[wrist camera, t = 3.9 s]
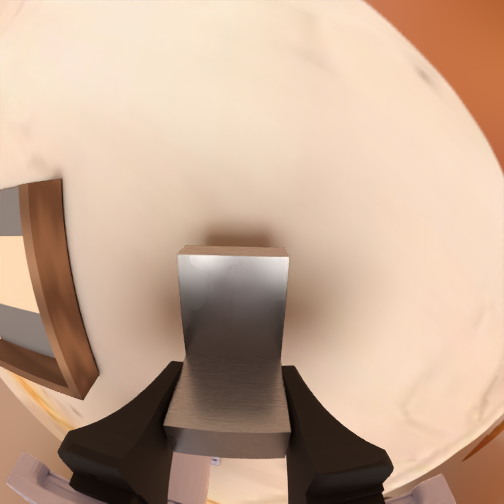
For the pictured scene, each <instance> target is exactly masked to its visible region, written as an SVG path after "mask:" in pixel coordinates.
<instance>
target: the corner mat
mask: <svg viewBox="0 0 504 504" xmlns="http://www.w3.org/2000/svg"><path fill="white" fill-rule="evenodd" d="M0 337H1V339H3V340H6V341H8V342H10V343H13V344H15V345H18V346H21V347H23V348H26V349H29V350H31V351H34V352H37V353H40V354H43V355H46V356H49V357H52V358H55V356H54V353H53V350H52V348H51V345H50V343H49V340H48V337H47V334H46V331H45V328H44V325H43V322H42V319H41V316H40V313H39V309H38V306H37V303H36V299H35V295H34V291H33V287H32V283H31V279H30V274H29V270H28V265H27V259H26V254H25V248H24V242H23V235H22V227H21V217H20V206H19V189H18V187H14V188H9V189H5V190H0ZM89 349H90V348H89Z"/></svg>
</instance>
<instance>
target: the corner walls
mask: <svg viewBox="0 0 504 504" xmlns="http://www.w3.org/2000/svg"><path fill="white" fill-rule="evenodd" d="M18 189H19V206H20V217H21V227H22V235H23V242H24V248H25V254H26V259H27V265H28V270H29V274H30V279H31V283H32V287H33V291H34V295H35V299H36V303H37V306H38V309H39V313H40V316H41V319H42V322H43V325H44V328H45V331H46V334H47V337H48V340H49V343H50V345H51V348H52V350H53V353H54V356H55V358H52V357H49V356H46V355H43V354H40V353H37V352H34V351H31V350H29V349H26V348H23V347H21V346H18V345H15V344H13V343H10V342H8V341H6V340H3V339H0V366H1V367H3V368H5V369H7V370H9V371H11V372H13V373H15V374H17V375H19V376H21V377H24V378H26V379H28V380H30V381H32V382H35V383H37V384H40V385H42V386H44V387H47V388H49V389H52V390H55V391H57V392H60V393H63V394H65V395H68V396H71V397H74V398H77V399H80V400H84V398H85V397H86V395H87V393H88V392H89V390H90V389H91V387H92V385H93V384H94V382H95V381H96V379H97V378H98V376H99V373H98V370H97V367H96V365H95V362H94V359H93V356H92V353H91V350H90V349H89V348H90V347H89V344H88V341H87V338H86V334H85V331H84V327H83V324H82V320H81V317H80V313H79V309H78V305H77V301H76V296H75V292H74V287H73V282H72V277H71V272H70V266H69V261H68V254H67V247H66V240H65V232H64V222H63V211H62V195H61V179H56V180H48V181H41V182H34V183H27V184H22V185H18Z"/></svg>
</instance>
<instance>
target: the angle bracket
mask: <svg viewBox="0 0 504 504" xmlns="http://www.w3.org/2000/svg"><path fill="white" fill-rule="evenodd" d="M177 262H178V278H179V291H180V303H181V314H182V324H183V334H184V342H185V351H186V356H185V359H184V362H183V363H184V364H183V367H182V370H181V373H180V376H179V378H178V380H177V383H176V386H175V389H174V392H173V395H172V399H171V402H170V405H169V408H168V411H167V414H166V417H165V420H164V424H163V426H164V429H165V432H166V435H167V438H168V441H169V444H170V446H171V449H172V452H177V453H183V454H191V455H199V456H209V457H222V458H244V459H271V458H285V455H286V451H287V447H288V443H289V439H290V434H291V428H290V421H289V414H288V407H287V400H286V393H285V386H284V381H283V376H282V369H281V367H282V365H281V349H282V339H283V328H284V317H285V306H286V294H287V281H288V267H289V256H288V254H287V251H286V249H285V248H277V247H237V246H192V245H185V246H184V248H183V249H182V250H181V251H180V252H179V253H178V254H177Z"/></svg>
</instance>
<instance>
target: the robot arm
mask: <svg viewBox="0 0 504 504" xmlns="http://www.w3.org/2000/svg"><path fill="white" fill-rule="evenodd" d="M183 364H184V363H183V362H178V361H171V362H170V363H169V364H168V366H167V367H166V368H165V369H164V370H163V371H162V372H161V373H160V374H159V375H158V377H157V378H156V379H155V380H154V381H153V382H152V383H151V384H150V385H149V386H148V387H147V388H146V389H145V390H143V391H142V392H141V393H140V394H139V395H138V396H137V397H135V398H134V399H133V400H132V401H130V402H129V403H128V404H126V405H125V406H124V407H122V408H121V409H119V410H118V411H116V412H114V413H112V414H111V415H109V416H107V417H105V418H103V419H101V420H99V421H97V422H95V423H92V424H90V425H87V426H84V427H81V428H78V429H75V430H72V431H69V432H68V434H67V435H66V437H65V438H64V440H63V442H62V444H61V446H60V448H59V450H58V454H59V457H60V458H61V459H62V461H63V462H64V463H65V464H66V465H67V466H68V467H69V468H70V469H71V471H72V472H73V476H72V478H71V480H69V479H67V478H64V477H62V476H60V475H58V474H56V473H54V472H52V471H51V470H49V468H48V467H47V466H46V465H45V464H44V463H43V462H42V461H40V460H39V459H37V458H35V457H34V456H32V455H30V454H29V453H27V452H25V451H23V452H22V454H21V456H20V457H19V459H18V461H17V462H16V464H15V466H14V468H13V469H12V471H11V473H10V475H9V477H8V478H7V480H6V484H7V485H8V486H10V487H11V488H12V489H13V490H14V491H15V492H17V493H18V494H19V495H20V496H22V497H23V498H24V499H26V500H27V501H28V502H30V503H31V504H206V501H207V492H208V484H209V475H210V467H211V465H215V466H218V465H220V457H209V456H199V455H191V454H183V453H177V452H172V449H171V446H170V444H169V441H168V438H167V435H166V432H165V429H164V426H163V424H164V420H165V417H166V414H167V411H168V408H169V405H170V402H171V399H172V395H173V392H174V389H175V386H176V383H177V380H178V378H179V376H180V373H181V370H182V367H183ZM281 369H282V376H283V381H284V386H285V393H286V400H287V407H288V414H289V421H290V428H291V434H290V439H289V443H288V447H287V451H286V460H287V476H288V504H456V502H455V500H454V497H453V495H452V493H451V491H450V489H449V487H448V484H447V482H446V480H445V478H444V476H443V474H439V475H437V476H435V477H433V478H430V479H428V480H426V481H424V482H422V483H420V484H418V485H417V486H416V487H414V488H413V489H412V491H410V492H407V493H405V494H402V495H399V496H396V497H393V498H390V499H387V500H384V498H383V495H382V492H383V491H384V487H383V485H382V483H383V482H384V481H385V480H386V479H387V478H388V477H389V476H390V474H391V473H392V471H393V469H394V467H393V464H392V462H391V460H390V458H389V456H388V454H387V453H386V451H385V450H384V449H382V448H379V447H377V446H375V445H373V444H371V443H369V442H367V441H365V440H364V439H362V438H360V437H359V436H357V435H356V434H354V433H353V432H352V431H350V430H349V429H347V428H346V427H345V426H343V425H342V424H341V423H340V422H339V421H338V420H336V419H335V418H334V417H333V416H332V415H331V414H330V413H329V412H328V411H327V410H326V409H325V408H324V407H323V406H322V404H321V403H320V402H319V401H318V400H317V398H316V397H315V396H314V395H313V393H312V392H311V391H310V389H309V388H308V387H307V385H306V384H305V382H304V381H303V379H302V377H301V376H300V374H299V372H298V371H297V369H296V367H295V366H282V367H281Z"/></svg>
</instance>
